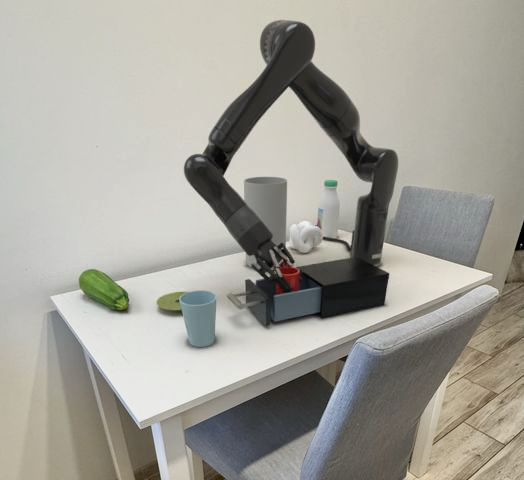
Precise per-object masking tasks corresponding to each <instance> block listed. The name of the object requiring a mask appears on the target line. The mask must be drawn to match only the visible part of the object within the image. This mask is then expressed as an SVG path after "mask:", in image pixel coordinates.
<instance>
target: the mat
mask: <svg viewBox="0 0 524 480" xmlns="http://www.w3.org/2000/svg"><path fill="white" fill-rule="evenodd" d="M187 292H188V291H176V292H175V291H174V292H170V293H167V294H164V295H162V296H160V297H159V298H158V299H157V300H156V305H157V306H158V307H159V308H161V309H163V310H168V311H182V309H181V305H180V301H179V298H180V296H181V295H183V294H184V293H187Z"/></svg>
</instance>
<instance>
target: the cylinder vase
mask: <svg viewBox="0 0 524 480" xmlns="http://www.w3.org/2000/svg"><path fill="white" fill-rule="evenodd" d="M243 200H244V201H245V202H246V203H247V205H248V206H249V207H250V208H251V209H252V210H253V211H254V212H255V213H256V214H257V215H258V217H259V218H260V219H261V220H262V221H263V223H264V224H265V225H266V226H267V228H268V229H269V230H270V231H271V233H272V234H273V237H272V239H271V241H272V242H273V243H274V244H276V245H279V244H280V243H283V244H284V245H285V247H286V248H287V208H288V206H287V205H288V179H286V178H284V177H279V176H254V177H248V178H245V179H243ZM254 261H256V259H255V257H254V255H252V256H248V255H247V254H246V253H245V263H246V265H247V266H248V267H250V268H252V266H251V264H252V263H253V262H254ZM283 265H284V264H283ZM284 266H285V265H284Z"/></svg>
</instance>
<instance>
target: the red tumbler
mask: <svg viewBox="0 0 524 480" xmlns="http://www.w3.org/2000/svg"><path fill="white" fill-rule="evenodd" d="M279 270H280V272H281V274H282V277H284V278H285V279H286V280H287V281H288V282H289V284H290V285H291V286H292V287H293V290H292V291H290V292H295V291H299V279H300V270H299V269H297V268H296V267H295V266H294V267H281V268H279ZM290 292H289V293H290ZM279 294H284V292H283V291H282V289H281V288H280V287H279V286H278V285H277V283H276V295H279Z"/></svg>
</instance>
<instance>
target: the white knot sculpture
mask: <svg viewBox="0 0 524 480" xmlns="http://www.w3.org/2000/svg"><path fill="white" fill-rule="evenodd" d="M322 238H323V233H322V231H321V229H320V228H319V227H317V226H315V225H314V224H312V223H311V222H310V221H308V220H303V221H300V222H299V223H294V224H291V225H290V227H289V241H288V243H289V244H288V245H289V247H290V249H292V250H297V251H299V252H300V253H302V254H308V253H310V252H311V250H312V249H314V248H317V247H318V246H320V244H321V243H322V241H323V239H322Z"/></svg>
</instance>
